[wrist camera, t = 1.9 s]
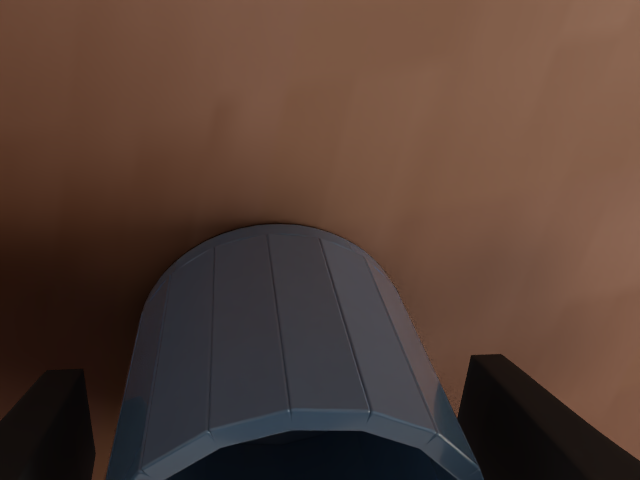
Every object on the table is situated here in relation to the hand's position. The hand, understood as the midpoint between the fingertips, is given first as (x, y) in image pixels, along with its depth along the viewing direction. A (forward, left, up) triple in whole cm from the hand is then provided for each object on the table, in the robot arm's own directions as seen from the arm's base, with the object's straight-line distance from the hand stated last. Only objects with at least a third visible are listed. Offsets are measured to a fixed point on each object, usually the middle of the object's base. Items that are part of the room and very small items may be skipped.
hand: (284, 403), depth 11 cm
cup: (0, 0, -2) cm, 2 cm away
